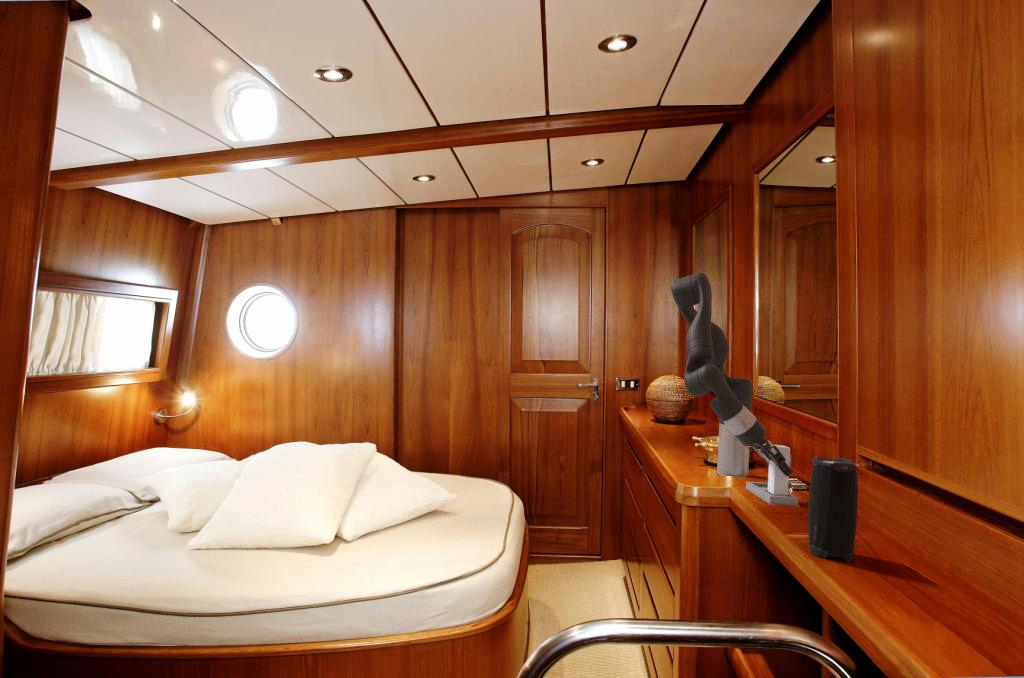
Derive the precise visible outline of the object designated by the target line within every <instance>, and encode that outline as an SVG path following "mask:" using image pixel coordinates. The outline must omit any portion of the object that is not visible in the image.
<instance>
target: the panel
mask: <svg viewBox="0 0 1024 678" xmlns="http://www.w3.org/2000/svg"><path fill="white" fill-rule="evenodd" d="M744 489H745V490H746V491H749V492H750V493H752V494H753V495H754V496H756V497H758V498H759V499H761V500H762V501H763V502H765V503H767V504H768V505H772V506H784V507H786V506H787V507H800V505H799V497H797V496H795V495H793V494H792V493H790V492H788V496H782V495H773V494H771V493H769V492H768V482H760V481H759V482H758V481H745V487H744Z"/></svg>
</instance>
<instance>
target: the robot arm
mask: <svg viewBox="0 0 1024 678" xmlns="http://www.w3.org/2000/svg"><path fill="white" fill-rule="evenodd" d="M670 291H671V294H672V297H673V300H674V302H675V304H676V305H677V308H678V310H679V311H680V313H681V315H682V317H683V318H684V320H685V322H686V324H687V326H688V330H687V333H686V339H685V341H686V351H687V360H686V364H685V370H684V377H683V382H684V385H685V389H686V391H687V392H688V393H689V394H690V396H693V397H702V396H705V395H707V394H709V393H711V392H713V393H714V395H715V397H713V398H712V399H711V401H710V404H709V405H710V408H711V410H712V411H713V412H714V413H715V414H716V415H717V417H719V425H718V445H717V462H716V463H717V466H716V474H717V475H718V474H719V475H718V476H722V477H723V476H724V477H734V478H735V477H738V478H747V476H748V477H749V465H750V464H749V462H750V448H749V447H751V448H752V449H753V450H754V451H755V452H756V453H757V454H758V455H759V456H760V457H761V458H762V459H763V460H766V462H767V463H769V460H770V461H772V462H773V463H774V464H775V465H776V466H777V467H778V468H779V469H780V470H781V471H782V472H783V473H784V474H785V475H786V476H789V477H790V476H791V475H792V474H793V473H794V470H793V469H792V467H791V468H790V467H789V466H788V465H787V464H786V463H785V461H786V459H785V458H784V456H783V455H782V454H781V452H780V451H779V450H778V448H777V447H776V446H773V445H774V444H773V442H771V441H770V440H769V439H767V438H766V439H765V435H766V433H767V429H766V427H765V426H764V425H763V424H762V423H761V422H760V421H759V419H757V417H756V416H755V415H754V414H753V413H752V404H753V397H754V396H753V395H754V393H753V392H754V388H753V387H754V386H753V384H752V381H751V380H750V379H748V378H746V377H736V376H729V375H728V374H727V371H726V370H725V363H726V361H727V358H728V355H729V353H730V345H729V343H728V339H727V337H726V335H725V332H724V330H722V328H721V327H720V326H718V324H716V323H715V322H713V321H712V313H713V312H712V309H713V307H712V305H713V304H712V303H713V296H712V295H713V294H712V293H713V292H712V287H711V283H710V280H709V278H708V276H707V275H706V274H705V273H704V272H697V273H694V274H690V275H686V276H683V277H682V276H681V277H679V278H676V279H675V280H673V281H671V284H670ZM696 305H698V308H697V310H696V308H695V307H694V306H696ZM769 455H770V457H769ZM778 459H779V460H778ZM777 460H778V461H777Z"/></svg>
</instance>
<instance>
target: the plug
mask: <svg viewBox="0 0 1024 678" xmlns="http://www.w3.org/2000/svg"><path fill="white" fill-rule="evenodd" d="M772 445H773V446H776V447H777V448H778V450H779V451H780V452H781V454H782V455H783V456H784V458H785V459H786V461H785V463H786V464H787V465H788V466H789V467H790V468H791V469H792V467H791V466H792V454H791V448H790V447H789V446H787V445H782V444H781V445H779V444H772ZM769 457H770V455H769ZM778 460H779V459H778ZM778 460H777V461H778ZM767 475H768V476H767V483H768V492H769V493H771V494H773V495H782V496H788V493H789V479H790V475H789V476H786V475H785V474H784V473H783V472H782V471H781V470H780V469H779V468H778V467H777V466H776V465H775V464H774V463H773V462H772V461H770V460H769V462H768V474H767Z"/></svg>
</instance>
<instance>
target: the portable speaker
mask: <svg viewBox="0 0 1024 678" xmlns="http://www.w3.org/2000/svg"><path fill="white" fill-rule="evenodd" d="M811 460H812V461H811V463H813V464H812V466H811V474H810V480H809V481H810V482H809V490H808V491H809V493H808V494H809V495H808V513H807V522H808V524H807V526H808V528H807V529H808V533H807V534H808V547H809V551H810V553H811V554H812V555H813V556H816V557H818V558H821V559H827V558H828V557H835V558H841V559H842V560H845V561H844V562H846V561H849V560H851V561H852V559H853V558H854V549H855V543H856V542H855V541H856V536H857V535H856V534H857V525H858V524H857V523H858V500H859V483H858V482H859V481H858V467H857V464H856V463H855V461H853V460H851V459H848V458H844V457H843V458H842V457H834V458H831V457H830V458H825V457H820V456H816V455H815V456H813V457H812V459H811ZM853 560H854V559H853ZM849 562H850V561H849Z"/></svg>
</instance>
